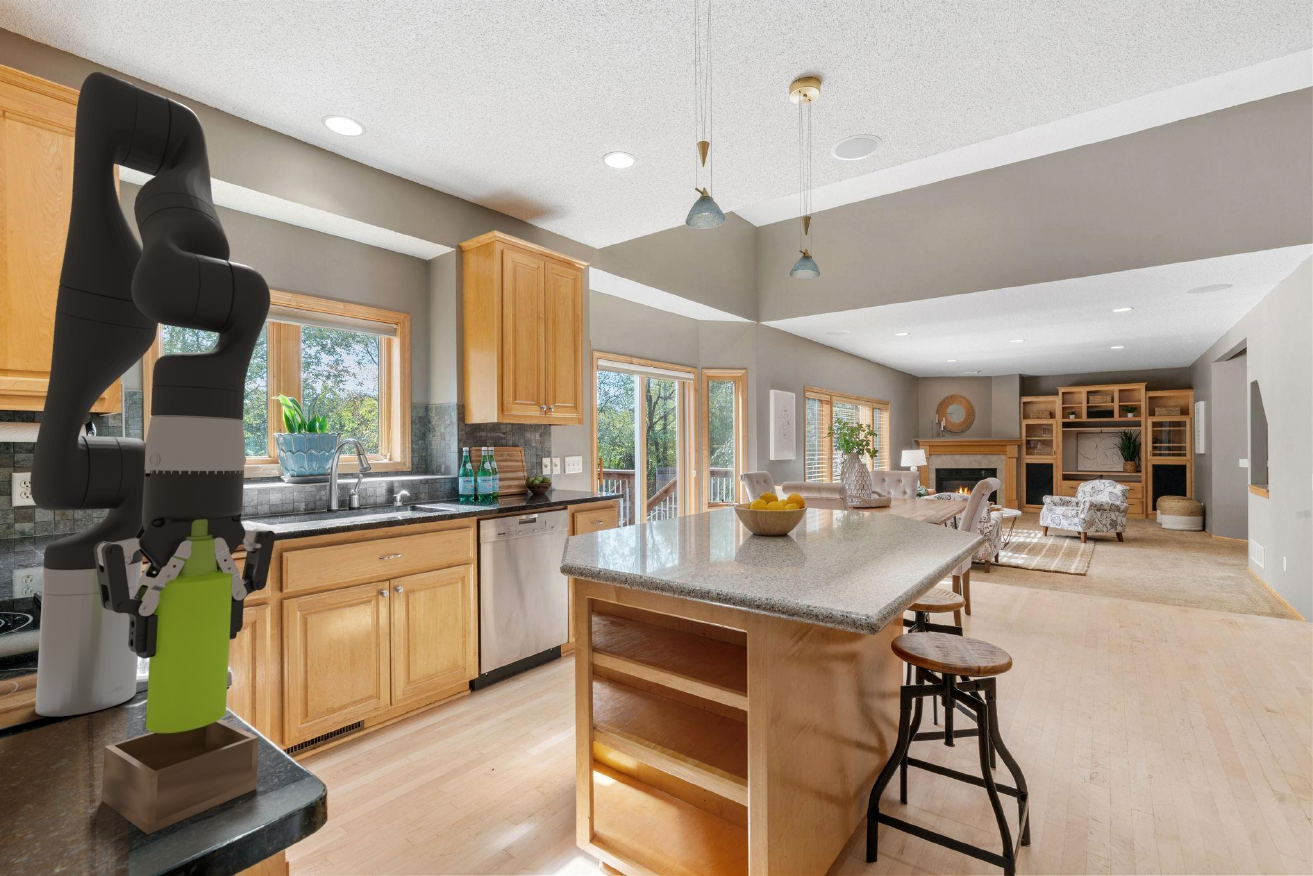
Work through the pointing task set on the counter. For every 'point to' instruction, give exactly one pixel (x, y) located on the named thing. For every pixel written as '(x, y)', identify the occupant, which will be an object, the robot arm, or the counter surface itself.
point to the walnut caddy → (178, 773)
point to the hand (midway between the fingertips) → (187, 646)
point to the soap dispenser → (191, 643)
